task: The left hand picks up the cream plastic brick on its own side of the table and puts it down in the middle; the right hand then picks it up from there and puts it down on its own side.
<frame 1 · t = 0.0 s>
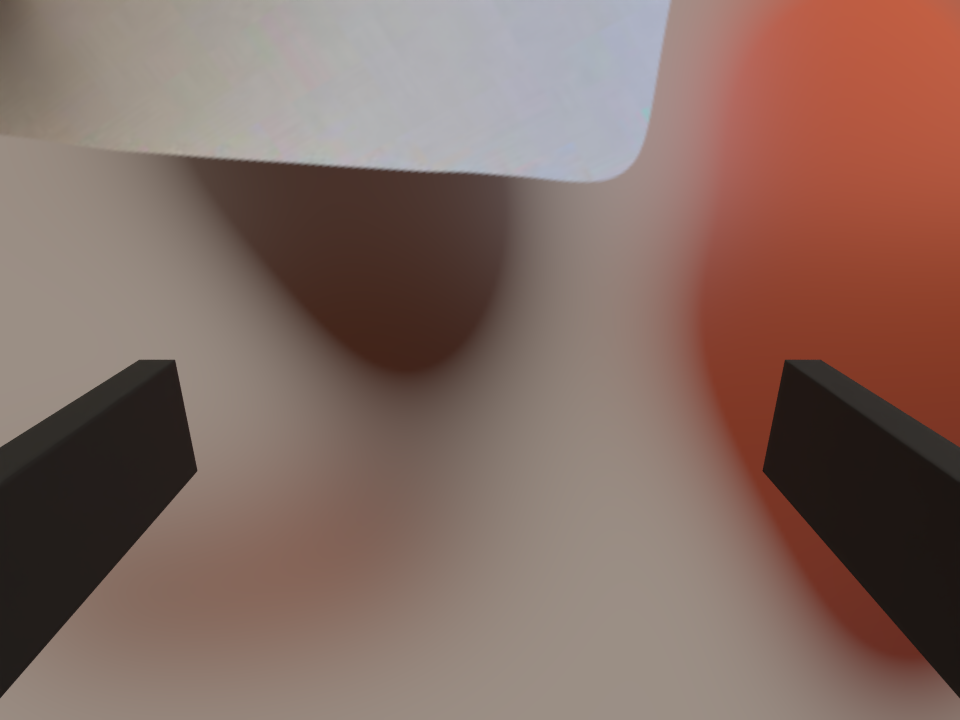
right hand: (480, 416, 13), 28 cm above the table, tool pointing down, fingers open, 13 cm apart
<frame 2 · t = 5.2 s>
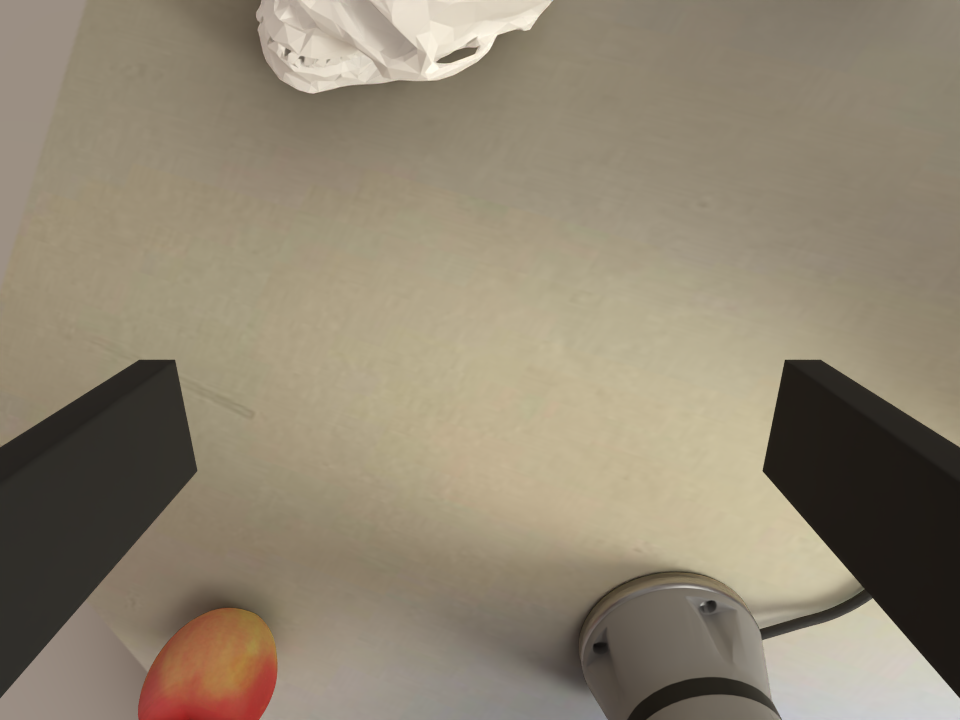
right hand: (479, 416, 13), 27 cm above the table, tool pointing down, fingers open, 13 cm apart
apple: (240, 623, 50), on the table
when the left hand's fingers open (4 cm above the table, at t = 8.9 s): brick drops 2 cm, on the table.
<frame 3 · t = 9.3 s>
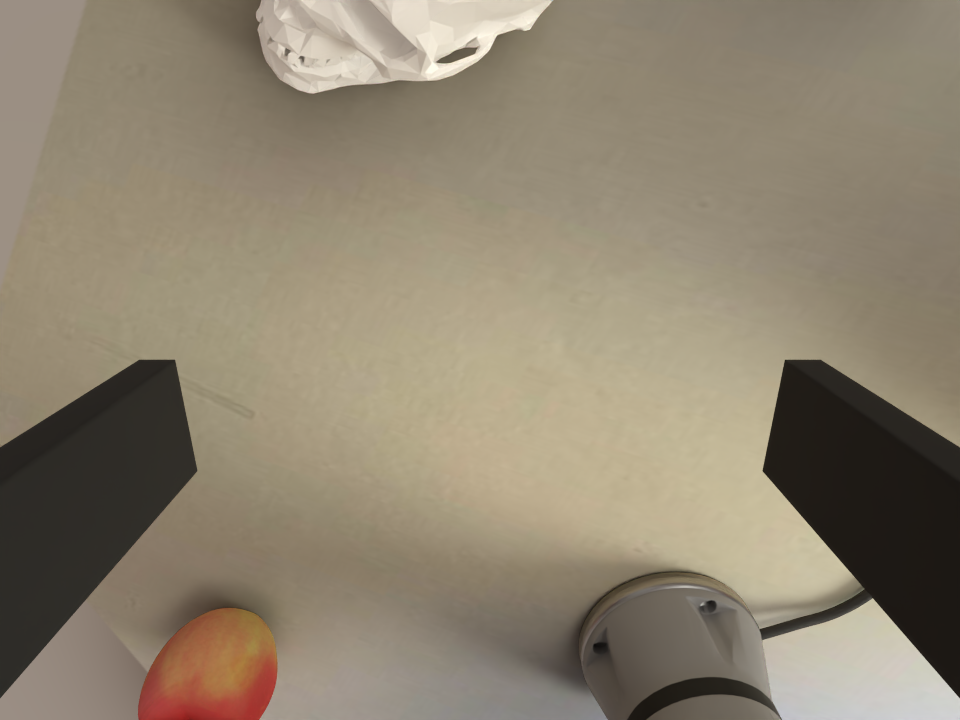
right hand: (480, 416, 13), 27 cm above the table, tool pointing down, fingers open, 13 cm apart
apple: (240, 623, 50), on the table
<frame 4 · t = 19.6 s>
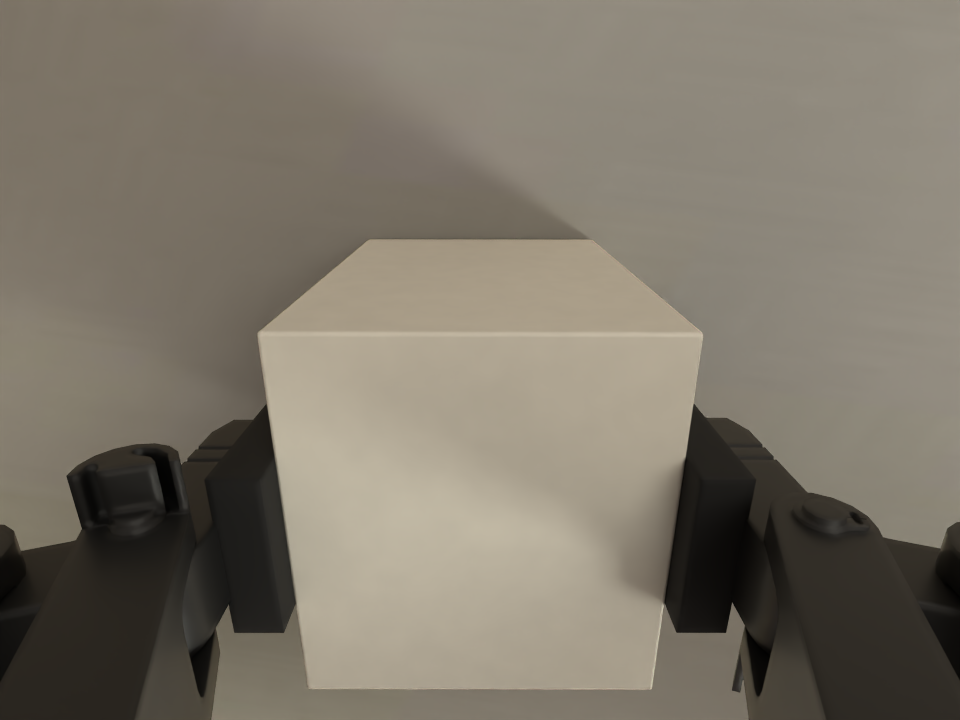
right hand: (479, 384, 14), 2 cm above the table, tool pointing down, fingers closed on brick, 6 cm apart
brick: (480, 354, 16), on the table, touching right hand
when the right hand's fingers open (4 cm above the table, at t = 31.7 s): brick drops 2 cm, on the table.
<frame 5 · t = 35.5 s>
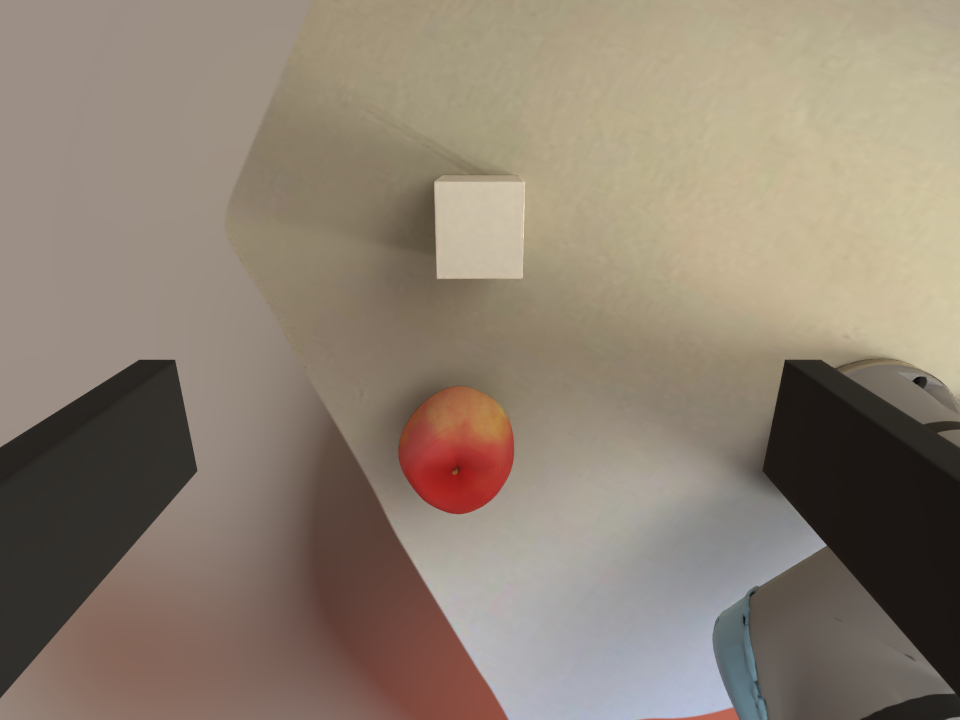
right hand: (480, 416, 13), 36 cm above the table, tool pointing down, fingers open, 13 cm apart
apple: (459, 417, 53), on the table
brick: (479, 217, 46), on the table
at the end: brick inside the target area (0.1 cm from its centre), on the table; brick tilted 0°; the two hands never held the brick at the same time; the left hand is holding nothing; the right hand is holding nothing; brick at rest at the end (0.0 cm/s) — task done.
